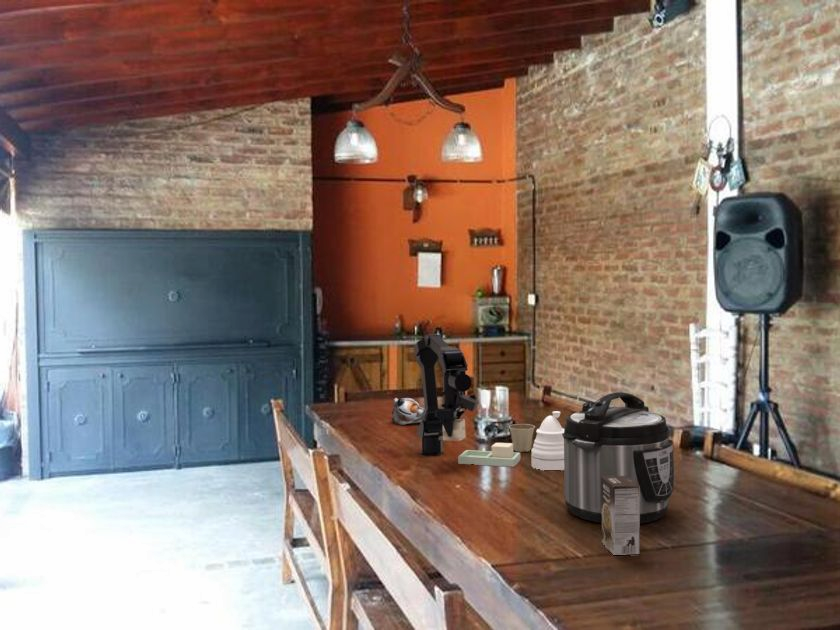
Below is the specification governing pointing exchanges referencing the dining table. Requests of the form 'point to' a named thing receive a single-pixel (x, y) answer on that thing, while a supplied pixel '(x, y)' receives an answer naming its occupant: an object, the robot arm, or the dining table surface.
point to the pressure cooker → (617, 455)
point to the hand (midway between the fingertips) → (452, 434)
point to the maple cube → (456, 431)
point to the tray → (491, 456)
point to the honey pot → (549, 445)
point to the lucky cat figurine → (406, 411)
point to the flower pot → (522, 436)
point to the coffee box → (620, 515)
